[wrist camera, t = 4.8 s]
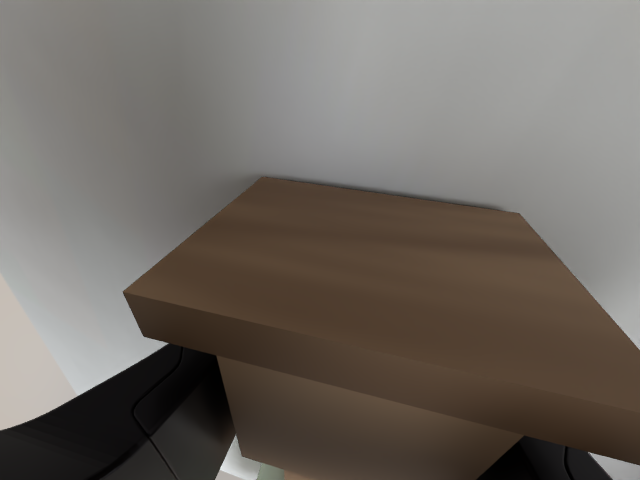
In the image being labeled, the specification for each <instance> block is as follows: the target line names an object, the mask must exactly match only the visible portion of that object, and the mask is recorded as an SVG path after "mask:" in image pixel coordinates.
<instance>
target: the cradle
mask: <svg viewBox="0 0 640 480" xmlns="http://www.w3.org/2000/svg"><path fill="white" fill-rule="evenodd" d="M257 480H284V470H283V469H280V468H277V467H274V466H271V465H267V464H264V463H262V465H261V468H260V471H259V474H258V477H257Z"/></svg>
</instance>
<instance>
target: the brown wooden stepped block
mask: <svg viewBox="0 0 640 480" xmlns="http://www.w3.org/2000/svg"><path fill="white" fill-rule="evenodd" d="M123 294H124V296H125V298H126V300H127V302H128V305H129V307H130V309H131V311H132V313H133V315H134V317H135V319H136V322H137V324H138V326H139V328H140V330H141V332H142V334H143V336H144V337H147V338H151V339H155V340H159V341H163V342H167V343H170V344H174V345H178V346H182V347H186V348H190V349H194V350H197V351H201V352H205V353H209V354H213V355H216V356H217V360H218V364H219V368H220V372H221V376H222V380H223V384H224V388H225V392H226V396H227V400H228V404H229V407H230V411H231V415H232V419H233V423H234V427H235V431H236V435H237V439H238V443H239V447H240V451H241V455H242V457H245V458H249V459H252V460H255V461H258V462H261V463H264V464H267V465H271V466H274V467H277V468H280V469H283V470H284V480H476V479H477V478H478V477H479V476H480V475H482V474H483V473H484V472H485V471H486V470H487V469H488V468H489V467H490V466H491V465H492V464H494V463H495V462H496V461H497V460H498V459H499V458H500V457H501V456H502V455H503V454H505V453H506V452H507V451H508V450H509V449H510V448H511V447H512V446H513V445H514V444H515V443H517V442H518V441H519V440H520V439H521V438H522V437H523V436H524V435H525V436H529V437H533V438H537V439H540V440H544V441H548V442H552V443H556V444H560V445H563V446H567V447H571V448H575V449H579V450H583V451H587V452H590V453H594V454H598V455H602V456H606V457H610V458H614V459H617V460H621V461H625V462H629V463H633V464H637V465H640V350H639V349H638V348H637V346H636V345H635V344H634V343H633V342H632V341H631V340H630V338H629V337H628V336H627V335H626V334H625V333H624V332H623V331H622V329H621V328H620V327H619V326H618V325H617V324H616V323H615V321H614V320H613V319H612V318H611V317H610V316H609V315H608V314H607V312H606V311H605V310H604V309H603V308H602V307H601V306H600V304H599V303H598V302H597V301H596V300H595V299H594V298H593V296H592V295H591V294H590V293H589V292H588V291H587V290H586V289H585V287H584V286H583V285H582V284H581V283H580V282H579V281H578V279H577V278H576V277H575V276H574V275H573V274H572V273H571V272H570V270H569V269H568V268H567V267H566V266H565V265H564V264H563V262H562V261H561V260H560V259H559V258H558V257H557V256H556V254H555V253H554V252H553V251H552V250H551V249H550V248H549V247H548V245H547V244H546V243H545V242H544V241H543V240H542V239H541V237H540V236H539V235H538V234H537V233H536V232H535V231H534V230H533V228H532V227H531V226H530V225H529V224H528V223H527V222H526V220H525V219H524V218H523V217H522V216H521V215H520V214H519V213H513V212H506V211H499V210H492V209H485V208H478V207H471V206H464V205H457V204H450V203H443V202H436V201H429V200H422V199H415V198H408V197H401V196H394V195H387V194H380V193H373V192H366V191H359V190H352V189H345V188H338V187H331V186H324V185H317V184H310V183H303V182H296V181H289V180H282V179H275V178H268V177H261V178H260V179H259V180H258V181H256V182H255V183H254V184H253V185H252V186H250V187H249V188H248V189H247V190H246V191H244V192H243V193H242V194H241V195H239V196H238V197H237V198H236V199H235V200H233V201H232V202H231V203H230V204H229V205H227V206H226V207H225V208H224V209H222V210H221V211H220V212H219V213H218V214H216V215H215V216H214V217H213V218H212V219H210V220H209V221H208V222H207V223H205V224H204V225H203V226H202V227H201V228H199V229H198V230H197V231H196V232H195V233H193V234H192V235H191V236H190V237H189V238H187V239H186V240H185V241H184V242H182V243H181V244H180V245H179V246H178V247H176V248H175V249H174V250H173V251H172V252H170V253H169V254H168V255H167V256H165V257H164V258H163V259H162V260H161V261H159V262H158V263H157V264H156V265H155V266H153V267H152V268H151V269H150V270H148V271H147V272H146V273H145V274H144V275H142V276H141V277H140V278H139V279H138V280H136V281H135V282H134V283H133V284H131V285H130V286H129V287H128V288H127V289H125V290H124V291H123Z"/></svg>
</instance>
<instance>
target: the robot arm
mask: <svg viewBox="0 0 640 480" xmlns="http://www.w3.org/2000/svg"><path fill="white" fill-rule="evenodd" d="M235 435H236V431H235V427H234V423H233V419H232V415H231V411H230V407H229V404H228V400H227V396H226V392H225V388H224V384H223V380H222V376H221V372H220V368H219V364H218V360H217V356H216V355H213V354H209V353H205V352H201V351H197V350H194V349H190V348H186V347H182V346H178V345H174V344H170V343H169V344H167V345H165V346H164V347H162V348H161V349H159V350H157V351H156V352H154V353H153V354H151V355H150V356H148V357H146V358H145V359H143V360H141V361H139V362H138V363H136V364H134V365H132V366H131V367H129V368H127V369H126V370H124V371H122V372H120V373H119V374H117V375H115V376H113V377H111V378H110V379H108V380H106V381H104V382H102V383H101V384H99V385H97V386H95V387H93V388H92V389H90V390H88V391H86V392H84V393H83V394H81V395H79V396H77V397H76V398H74V399H72V400H70V401H68V402H66V403H65V404H63V405H61V406H59V407H58V408H56V409H54V410H52V411H50V412H48V413H46V414H44V415H41V416H39V417H37V418H35V419H32V420H30V421H27V422H25V423H22V424H20V425H17V426H14V427H11V428H8V429H4V430H0V480H215V478H216V476H217V474H218V472H219V470H220V467H221V465H222V463H223V461H224V459H225V457H226V454H227V452H228V450H229V448H230V446H231V443H232V441H233V439H234V437H235ZM476 480H613V479H612V478H611V477H610V476H609V475H608V473H607V472H606V471H605V470H604V469H603V468H602V467H601V466H600V465H599V464H598V463H597V461H596V460H595V459H594V458H593V457H592V456H591V455H590V454H589V453H588V452H587V451H583V450H579V449H575V448H571V447H567V446H563V445H560V444H556V443H552V442H548V441H544V440H540V439H537V438H533V437H529V436H525V435H524V436H523V437H522V438H521V439H520V440H519V441H518V442H517V443H515V444H514V445H513V446H512V447H511V448H510V449H509V450H508V451H507V452H506V453H505V454H503V455H502V456H501V457H500V458H499V459H498V460H497V461H496V462H495V463H494V464H492V465H491V466H490V467H489V468H488V469H487V470H486V471H485V472H484V473H483V474H482V475H480V476H479V477H478V478H477V479H476Z"/></svg>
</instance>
